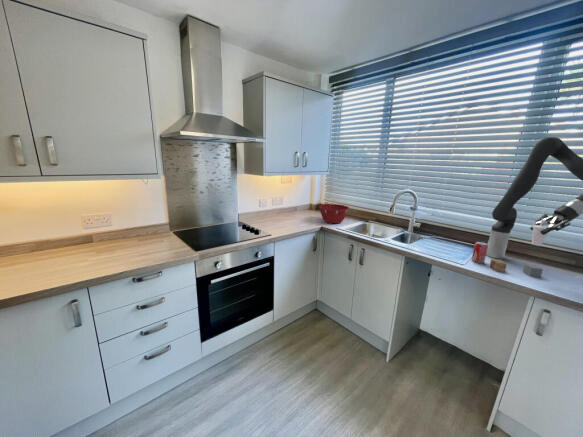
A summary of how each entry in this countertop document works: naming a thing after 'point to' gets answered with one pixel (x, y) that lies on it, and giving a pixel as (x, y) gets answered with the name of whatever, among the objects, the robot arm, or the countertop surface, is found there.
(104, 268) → the countertop surface
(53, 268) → the countertop surface
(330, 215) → the mixing bowl
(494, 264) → the walnut block
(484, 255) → the soda can
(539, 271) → the charcoal block
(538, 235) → the smoothie
